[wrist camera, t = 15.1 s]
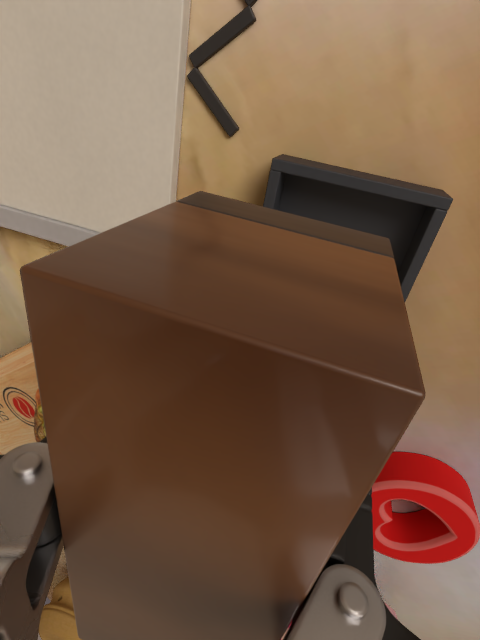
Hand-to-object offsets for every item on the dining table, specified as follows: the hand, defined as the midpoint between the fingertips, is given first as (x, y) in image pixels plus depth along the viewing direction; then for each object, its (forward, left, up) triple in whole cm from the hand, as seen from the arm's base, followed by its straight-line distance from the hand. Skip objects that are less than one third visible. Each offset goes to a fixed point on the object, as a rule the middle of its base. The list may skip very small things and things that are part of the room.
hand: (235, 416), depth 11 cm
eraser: (0, 0, -1) cm, 1 cm away
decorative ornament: (+18, +14, -15) cm, 27 cm away
